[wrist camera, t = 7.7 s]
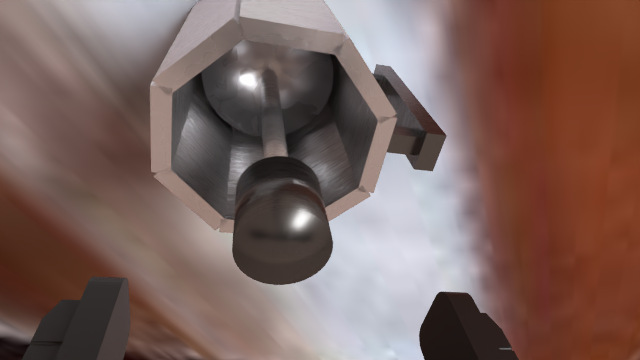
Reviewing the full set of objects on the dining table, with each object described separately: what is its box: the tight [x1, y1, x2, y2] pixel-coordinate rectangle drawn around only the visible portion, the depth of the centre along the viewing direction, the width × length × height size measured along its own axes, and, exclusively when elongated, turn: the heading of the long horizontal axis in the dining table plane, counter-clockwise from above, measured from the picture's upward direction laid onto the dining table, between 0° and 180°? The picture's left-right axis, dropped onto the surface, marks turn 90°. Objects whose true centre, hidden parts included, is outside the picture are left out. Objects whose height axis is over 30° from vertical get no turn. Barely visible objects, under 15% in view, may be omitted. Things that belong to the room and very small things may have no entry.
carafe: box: [150, 0, 446, 233], centre depth 24 cm, size 10×13×14 cm
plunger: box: [202, 40, 333, 285], centre depth 19 cm, size 8×8×15 cm
